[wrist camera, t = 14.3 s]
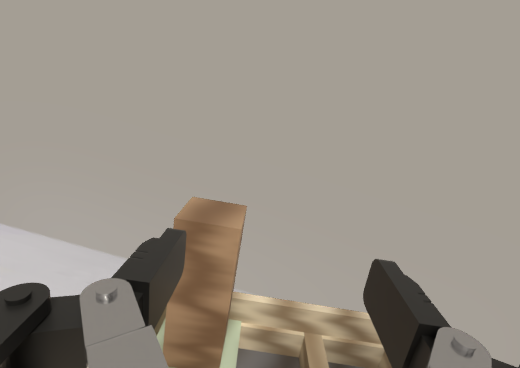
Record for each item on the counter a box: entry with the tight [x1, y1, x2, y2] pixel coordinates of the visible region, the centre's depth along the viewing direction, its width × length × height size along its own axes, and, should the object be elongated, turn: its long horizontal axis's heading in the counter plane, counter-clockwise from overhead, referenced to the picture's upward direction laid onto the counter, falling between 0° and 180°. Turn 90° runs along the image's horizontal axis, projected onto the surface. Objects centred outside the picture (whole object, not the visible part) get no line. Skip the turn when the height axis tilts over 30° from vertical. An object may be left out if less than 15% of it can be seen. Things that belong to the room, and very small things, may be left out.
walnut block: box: [163, 197, 247, 368], centre depth 25 cm, size 5×5×14 cm
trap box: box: [154, 292, 392, 368], centre depth 27 cm, size 28×10×6 cm, turn 89°
